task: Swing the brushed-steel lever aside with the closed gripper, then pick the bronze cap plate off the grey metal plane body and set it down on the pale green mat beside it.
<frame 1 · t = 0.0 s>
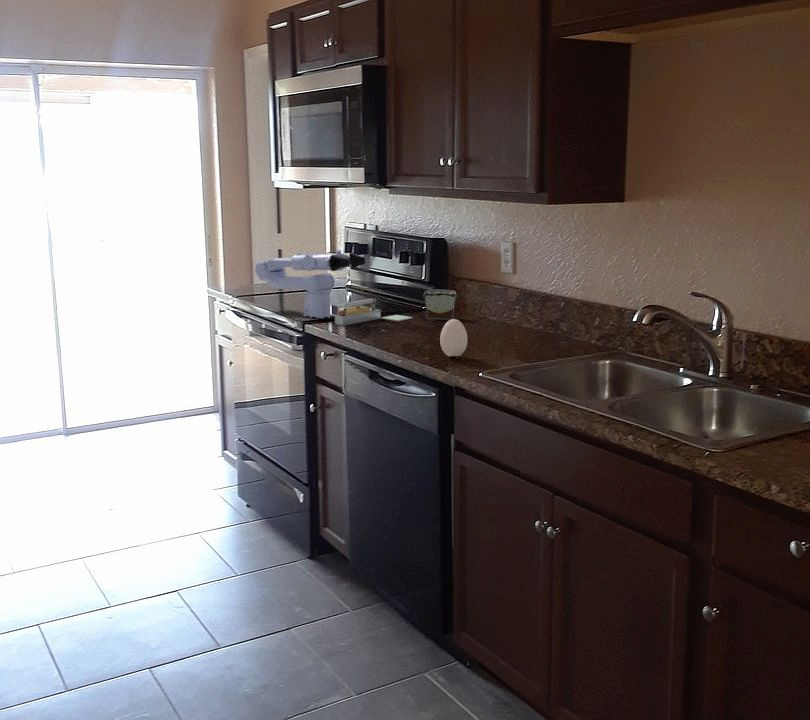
hand: (356, 261, 315), 22 cm above the worktop, tool horizontal, fingers open, 7 cm apart
mat: (397, 318, 329), on the worktop
plane body: (358, 321, 323), on the worktop
lever: (359, 302, 322), point 7 cm above the worktop, hinge at 0.0°
cap: (358, 312, 323), point 3 cm above the worktop, touching plane body
egg: (453, 358, 265), on the worktop
food container: (440, 318, 331), on the worktop
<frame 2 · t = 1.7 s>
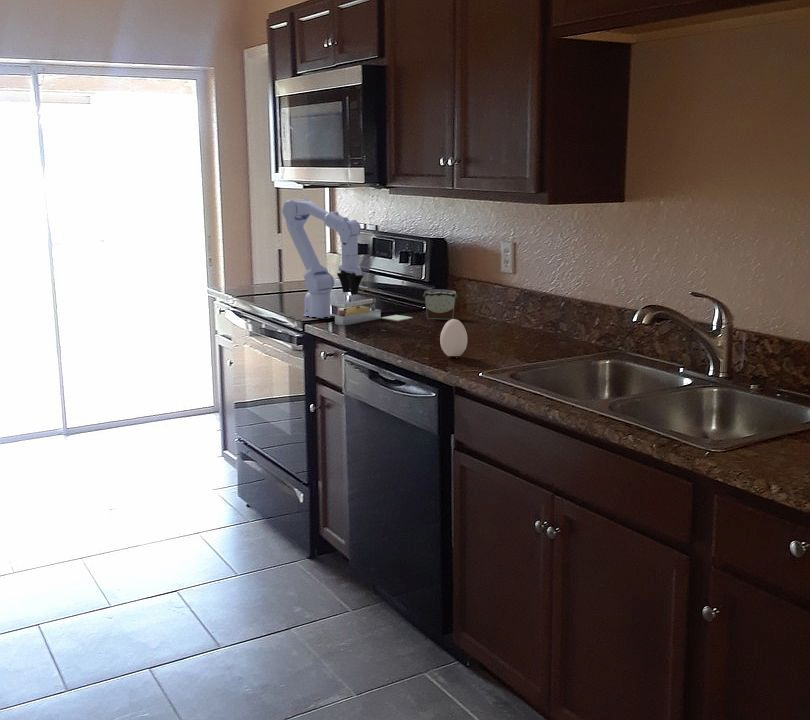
hand: (350, 293, 322), 10 cm above the worktop, tool pointing down, fingers open, 6 cm apart
nothing on the worktop moved.
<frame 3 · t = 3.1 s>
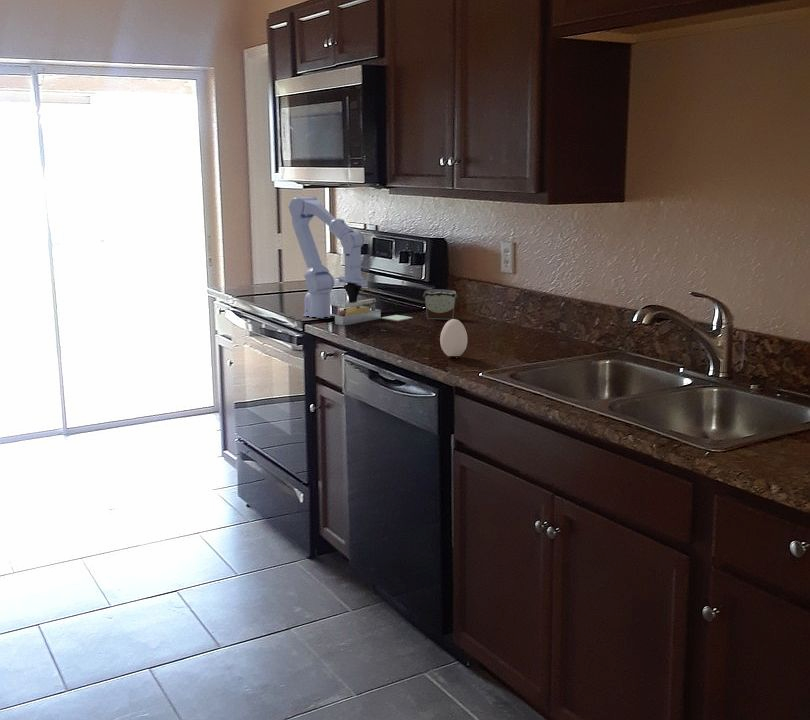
hand: (353, 304, 322), 6 cm above the worktop, tool pointing down, fingers closed, pressing on lever
lever: (359, 302, 322), point 7 cm above the worktop, hinge at 0.8°, touching gripper
everything else where it was.
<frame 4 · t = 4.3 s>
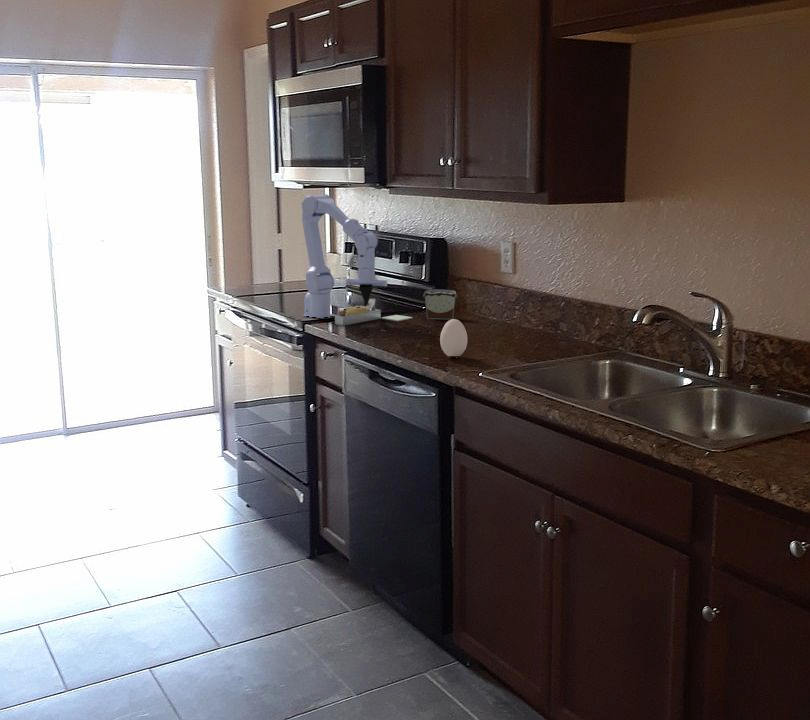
hand: (366, 306, 319), 6 cm above the worktop, tool pointing down, fingers closed, pressing on lever
lever: (370, 303, 320), point 7 cm above the worktop, hinge at 38.9°, touching gripper
everything else where it was.
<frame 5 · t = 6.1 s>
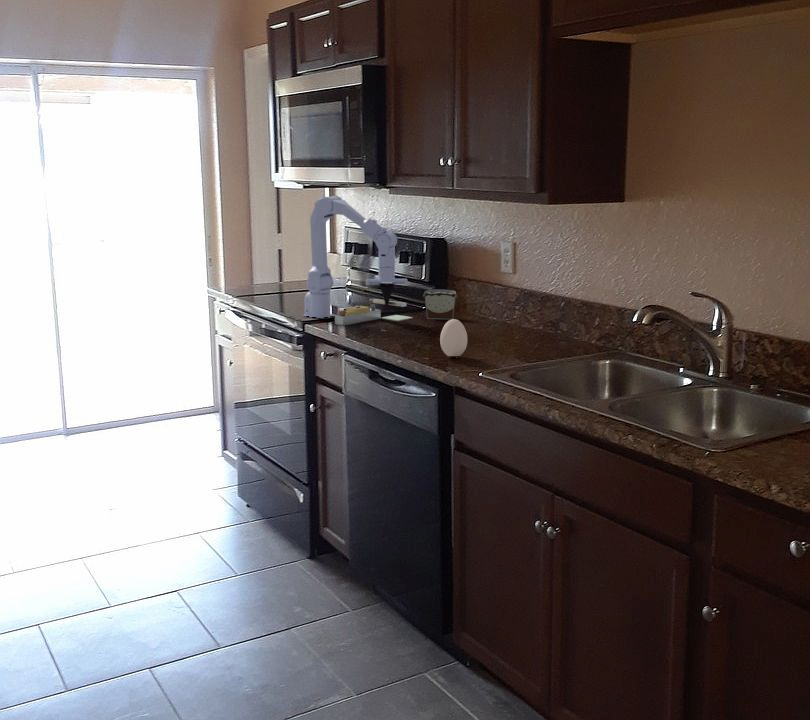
hand: (386, 305, 320), 6 cm above the worktop, tool pointing down, fingers closed
lever: (387, 302, 323), point 7 cm above the worktop, hinge at 93.0°, touching gripper
everything else where it was.
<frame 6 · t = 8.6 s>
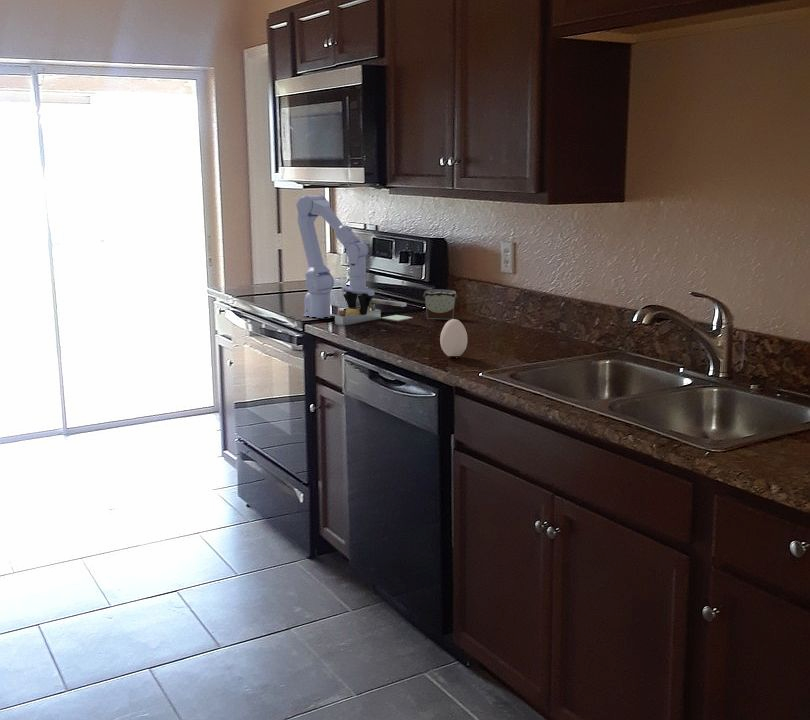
hand: (358, 313, 323), 3 cm above the worktop, tool pointing down, fingers closed on cap, 5 cm apart
lever: (387, 302, 323), point 7 cm above the worktop, hinge at 93.1°
cap: (358, 312, 323), point 3 cm above the worktop, touching gripper, plane body
everything else where it was.
when the fingers open (1 cm above the worktop, at t = 12.9 s): cap drops 1 cm, resting on mat.
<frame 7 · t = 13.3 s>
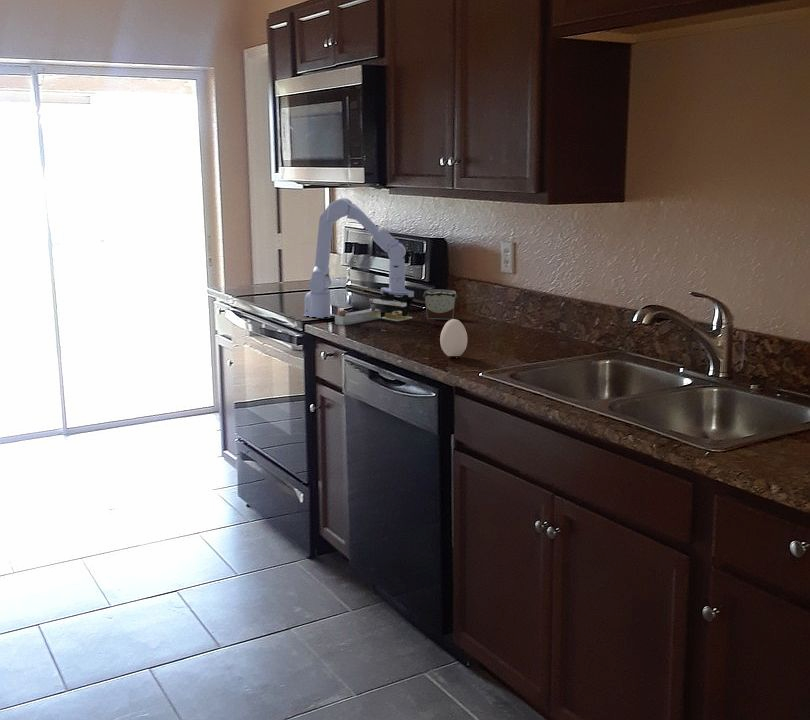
hand: (397, 314, 328), 1 cm above the worktop, tool pointing down, fingers open, 7 cm apart
cap: (396, 317, 328), resting on mat
everything else where it was.
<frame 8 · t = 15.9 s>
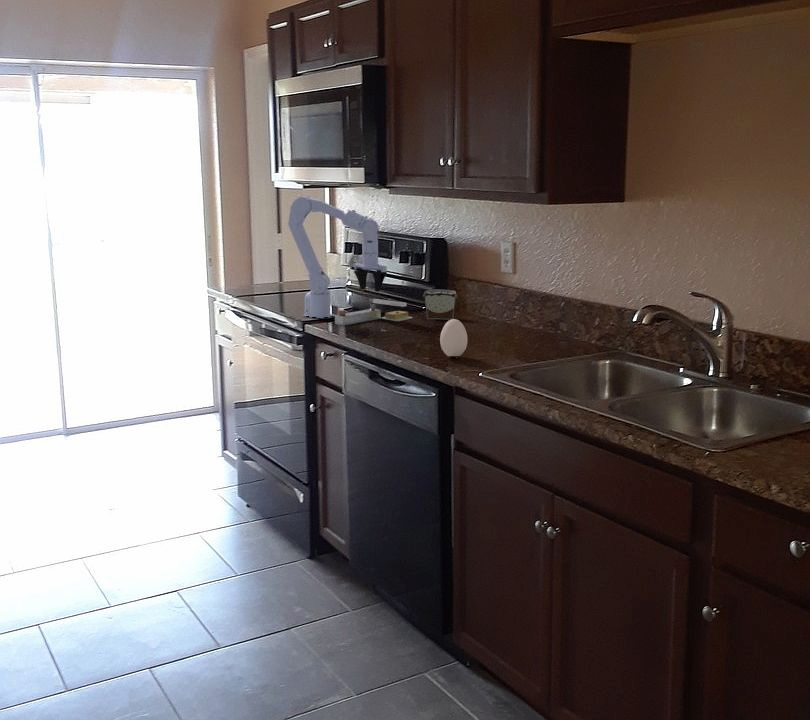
hand: (370, 290, 330), 10 cm above the worktop, tool pointing down, fingers open, 7 cm apart
nothing on the worktop moved.
at the end: lever at +93° (first picture: +0°); cap inside the target area on the mat (0.2 cm from its centre), point 0.4 cm above the mat's base; cap tilted 0° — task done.
